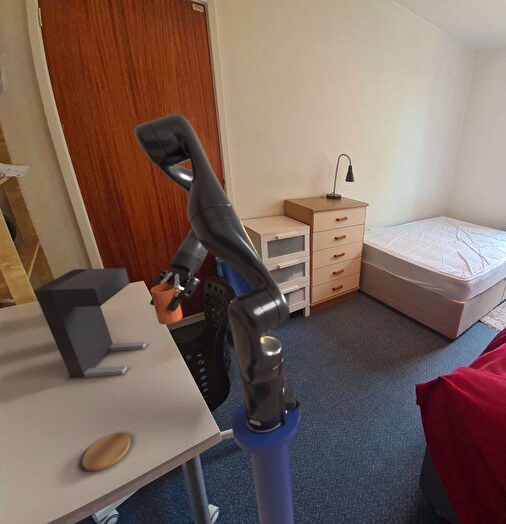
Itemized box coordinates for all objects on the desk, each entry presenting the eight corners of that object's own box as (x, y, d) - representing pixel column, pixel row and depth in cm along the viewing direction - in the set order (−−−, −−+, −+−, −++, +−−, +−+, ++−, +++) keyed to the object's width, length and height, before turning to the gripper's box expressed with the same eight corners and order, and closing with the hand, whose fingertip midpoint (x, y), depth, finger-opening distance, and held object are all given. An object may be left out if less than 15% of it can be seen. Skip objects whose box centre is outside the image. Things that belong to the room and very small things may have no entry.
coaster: (137, 433, 63) (136, 430, 62) (116, 468, 56) (115, 466, 55) (99, 437, 61) (98, 434, 61) (73, 474, 55) (72, 471, 54)
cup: (185, 312, 85) (179, 282, 81) (177, 323, 79) (170, 292, 76) (164, 313, 84) (157, 283, 80) (154, 325, 78) (146, 293, 75)
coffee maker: (146, 344, 91) (125, 268, 81) (123, 374, 79) (94, 288, 69) (101, 347, 88) (74, 269, 79) (70, 378, 77) (33, 290, 67)
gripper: (163, 246, 83) (132, 298, 77) (199, 253, 79) (169, 309, 73) (182, 257, 90) (155, 306, 84) (217, 264, 85) (190, 317, 79)
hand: (162, 307), depth 78 cm, fingers closed on cup, 6 cm apart
